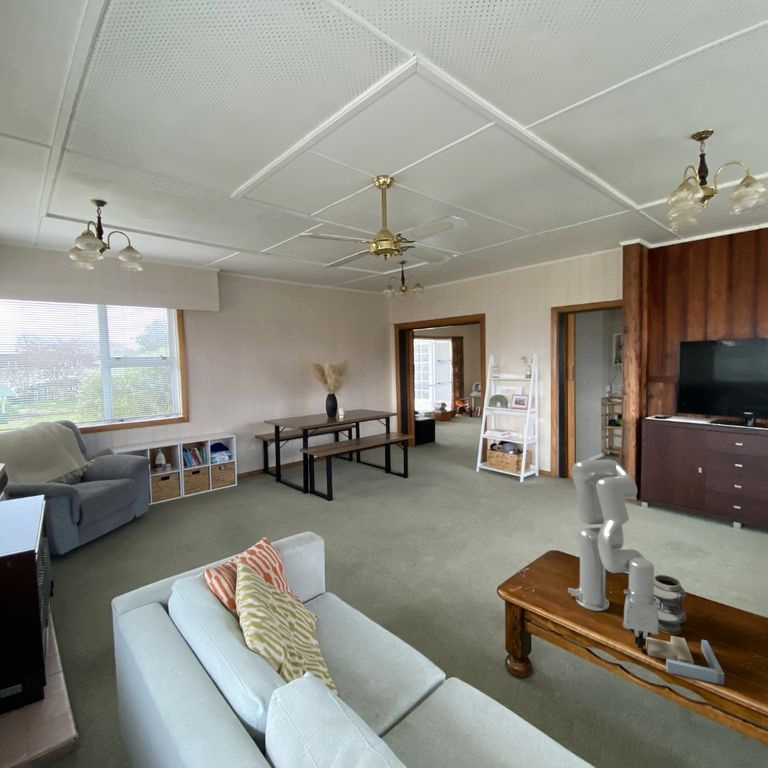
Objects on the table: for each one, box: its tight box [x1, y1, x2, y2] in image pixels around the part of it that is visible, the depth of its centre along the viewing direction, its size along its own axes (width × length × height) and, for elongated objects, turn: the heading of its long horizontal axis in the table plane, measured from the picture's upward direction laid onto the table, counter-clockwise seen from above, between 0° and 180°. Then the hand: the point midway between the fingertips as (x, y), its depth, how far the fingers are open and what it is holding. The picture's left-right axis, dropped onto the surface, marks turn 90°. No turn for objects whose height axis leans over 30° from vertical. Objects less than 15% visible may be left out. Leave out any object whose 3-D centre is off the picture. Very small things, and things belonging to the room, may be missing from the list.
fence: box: [665, 639, 725, 686], centre depth 142 cm, size 15×17×4 cm
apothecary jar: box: [654, 574, 687, 635], centre depth 160 cm, size 12×12×18 cm
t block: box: [645, 635, 695, 665], centre depth 145 cm, size 12×12×4 cm
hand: (640, 646), depth 148 cm, fingers closed
